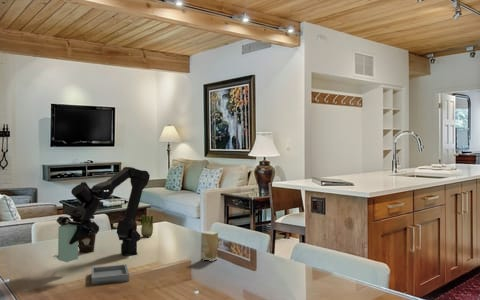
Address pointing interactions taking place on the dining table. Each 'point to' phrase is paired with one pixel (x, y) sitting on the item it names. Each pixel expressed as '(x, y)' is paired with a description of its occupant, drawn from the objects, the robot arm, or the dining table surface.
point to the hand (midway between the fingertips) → (65, 243)
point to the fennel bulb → (147, 226)
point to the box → (109, 274)
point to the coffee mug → (87, 243)
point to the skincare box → (209, 245)
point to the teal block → (67, 243)
